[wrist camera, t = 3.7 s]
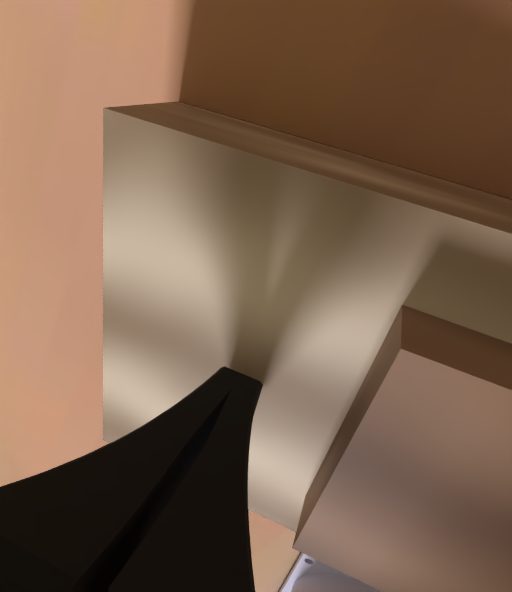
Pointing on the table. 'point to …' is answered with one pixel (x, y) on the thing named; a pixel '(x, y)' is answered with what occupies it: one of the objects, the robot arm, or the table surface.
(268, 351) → the tan flat block
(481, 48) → the table surface
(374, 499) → the walnut tile
